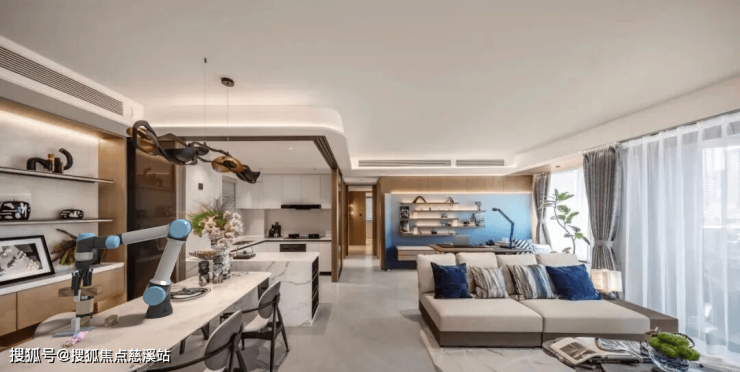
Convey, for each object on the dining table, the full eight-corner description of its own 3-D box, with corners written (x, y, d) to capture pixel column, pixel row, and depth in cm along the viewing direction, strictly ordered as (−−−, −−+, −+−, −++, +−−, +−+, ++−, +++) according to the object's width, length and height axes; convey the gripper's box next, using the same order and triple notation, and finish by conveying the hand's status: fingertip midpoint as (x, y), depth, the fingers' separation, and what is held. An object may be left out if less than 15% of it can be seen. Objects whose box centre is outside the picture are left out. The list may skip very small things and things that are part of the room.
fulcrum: (95, 328, 184) (96, 314, 184) (81, 335, 173) (82, 320, 173) (68, 330, 181) (69, 316, 182) (52, 337, 170) (53, 322, 171)
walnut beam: (102, 293, 185) (103, 285, 185) (96, 295, 180) (97, 287, 180) (64, 294, 182) (65, 286, 182) (57, 297, 177) (58, 288, 178)
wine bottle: (82, 321, 195) (85, 273, 198) (71, 321, 197) (74, 273, 200) (96, 317, 204) (98, 270, 206) (86, 316, 205) (88, 270, 208)
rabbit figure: (74, 349, 157) (93, 334, 172) (74, 338, 157) (92, 323, 171) (59, 351, 156) (79, 335, 170) (58, 340, 155) (78, 324, 170)
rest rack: (117, 322, 193) (117, 314, 193) (110, 326, 186) (110, 317, 186) (84, 324, 189) (84, 316, 190) (75, 329, 183) (76, 320, 183)
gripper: (88, 257, 191) (84, 296, 189) (64, 261, 174) (60, 304, 171) (101, 257, 192) (98, 296, 190) (79, 261, 175) (75, 304, 172)
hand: (80, 300), depth 181 cm, fingers closed on walnut beam, 5 cm apart
